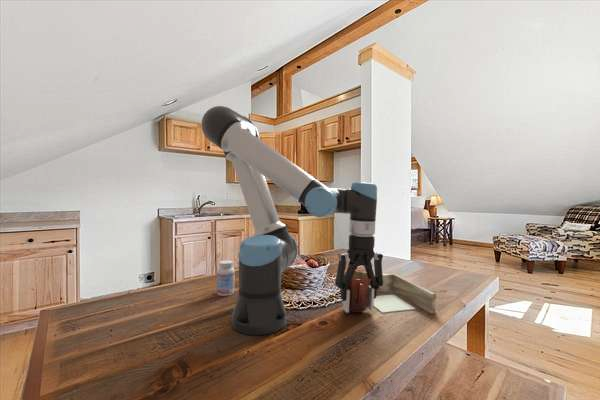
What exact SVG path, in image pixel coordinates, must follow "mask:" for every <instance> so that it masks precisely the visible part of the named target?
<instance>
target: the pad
mask: <svg viewBox="0 0 600 400" xmlns="http://www.w3.org/2000/svg"><path fill="white" fill-rule="evenodd" d="M373 308H375V309H376V310H378V312H380V313H381V314H386V313H387V314H388V313H395V312H397V313H398V312H405V311H414V310H417V307H416V308H415V307H414V306H412V305H411V304H410V303H408V302H406V301H404V299H401V298H400V297H399V296H397V295H395V294H386V295H376V298H374V307H373Z"/></svg>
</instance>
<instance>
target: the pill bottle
mask: <svg viewBox="0 0 600 400" xmlns="http://www.w3.org/2000/svg"><path fill="white" fill-rule="evenodd" d="M218 264H219V265H218V266H219V268H217V270H216V294H217V296H221V297H228V296H231V295H233V294H234V293H235V274H236V273H235V272H236V271H235V268H234V267H233V266H234V261H232V260H229V259H227V260H226V259H225V260H220V261H219V263H218Z"/></svg>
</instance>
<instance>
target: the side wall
mask: <svg viewBox="0 0 600 400" xmlns="http://www.w3.org/2000/svg"><path fill="white" fill-rule="evenodd" d="M393 274H394V273H392V272H391V273H382V276H383V285H382V286H379V289H377V292H376V293H378V292H389V291H390V292H391V291H393ZM374 276H375V274H374ZM370 286H371V285H370Z"/></svg>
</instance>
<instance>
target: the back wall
mask: <svg viewBox="0 0 600 400" xmlns="http://www.w3.org/2000/svg"><path fill="white" fill-rule="evenodd" d="M392 274H393V290H392V291H393V292H395V293H397V294H398V295H400V296H402V297H403V298H405V299H406V300H408V301H410V302H412V303H413V304H415V305H416V306H418V307H420V308H422V309H423V310H425V311H427V312H428V313H430V314H436V303H437V302H436V301H437V299H436V298H437V296H436V295H437V294H436V293H435V292H433V291H432V290H429V289H427V288H425V287H423V286H421V285H419V284H417V283H415V282H413V281H412V280H410V279H407V278H405V277H403V276H401V275H399V274H397V273H392Z"/></svg>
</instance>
